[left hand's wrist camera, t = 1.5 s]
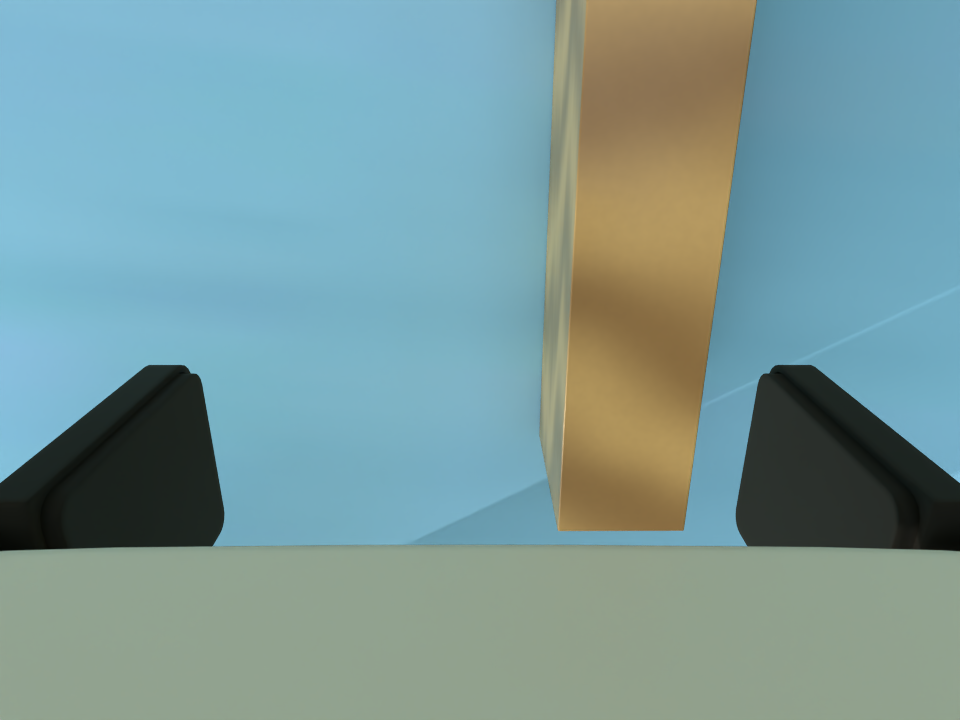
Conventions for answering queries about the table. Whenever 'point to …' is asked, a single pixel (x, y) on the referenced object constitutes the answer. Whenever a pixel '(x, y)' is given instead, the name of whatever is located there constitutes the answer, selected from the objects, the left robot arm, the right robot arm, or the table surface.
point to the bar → (635, 249)
